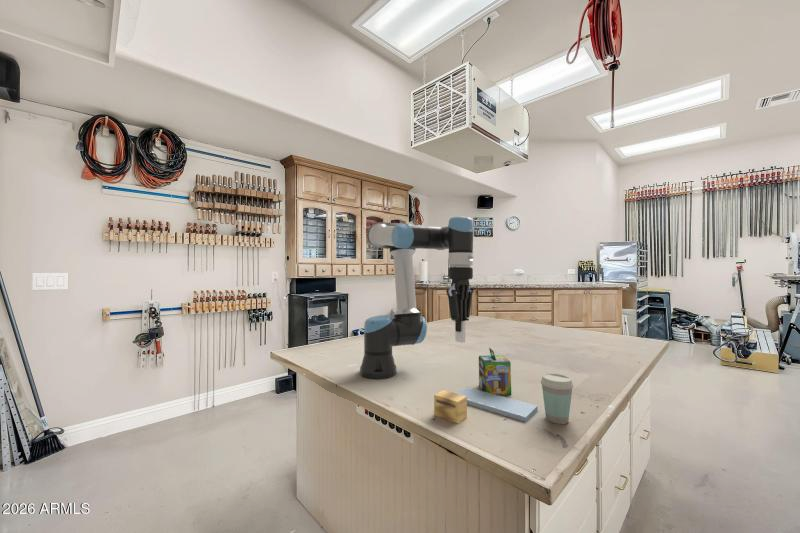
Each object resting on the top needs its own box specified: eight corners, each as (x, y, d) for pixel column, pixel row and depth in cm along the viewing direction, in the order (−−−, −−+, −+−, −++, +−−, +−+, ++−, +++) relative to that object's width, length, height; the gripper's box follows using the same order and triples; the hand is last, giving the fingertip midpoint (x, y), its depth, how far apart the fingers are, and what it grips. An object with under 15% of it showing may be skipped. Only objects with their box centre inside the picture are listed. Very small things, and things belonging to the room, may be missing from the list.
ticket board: (452, 400, 106) (452, 395, 106) (467, 391, 113) (467, 386, 113) (525, 422, 90) (525, 417, 90) (537, 410, 98) (537, 405, 98)
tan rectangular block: (433, 415, 94) (433, 394, 94) (443, 409, 98) (443, 389, 98) (457, 423, 89) (457, 402, 89) (466, 417, 93) (466, 396, 93)
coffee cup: (581, 423, 89) (580, 380, 89) (555, 428, 87) (555, 383, 87) (557, 410, 97) (557, 371, 98) (534, 414, 95) (534, 374, 95)
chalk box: (511, 395, 109) (511, 352, 110) (484, 395, 109) (484, 352, 109) (502, 385, 119) (502, 345, 119) (478, 385, 119) (478, 345, 119)
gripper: (460, 266, 94) (460, 347, 94) (481, 266, 103) (480, 339, 103) (438, 266, 99) (438, 343, 99) (460, 266, 108) (460, 336, 108)
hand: (460, 341), depth 101 cm, fingers closed
